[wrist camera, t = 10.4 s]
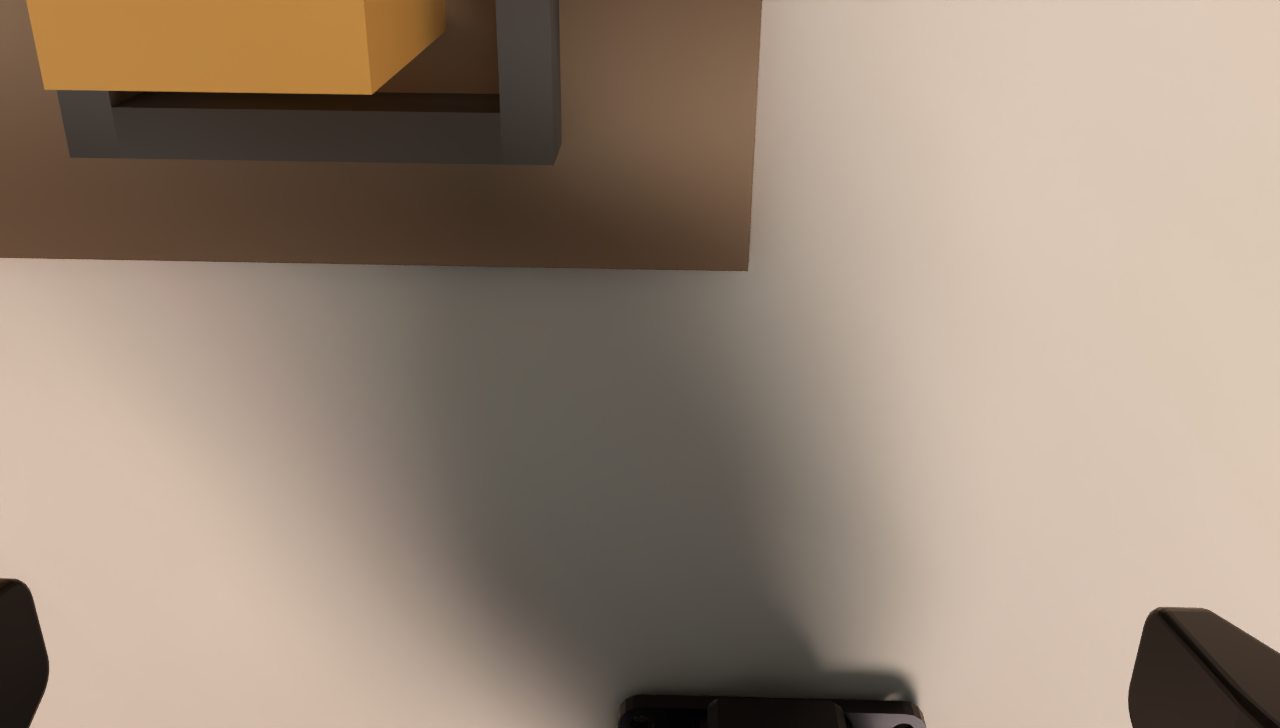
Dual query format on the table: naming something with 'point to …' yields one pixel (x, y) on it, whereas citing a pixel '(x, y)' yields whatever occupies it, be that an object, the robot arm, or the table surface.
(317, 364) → the table surface
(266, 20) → the tan cardboard box
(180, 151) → the end holder
